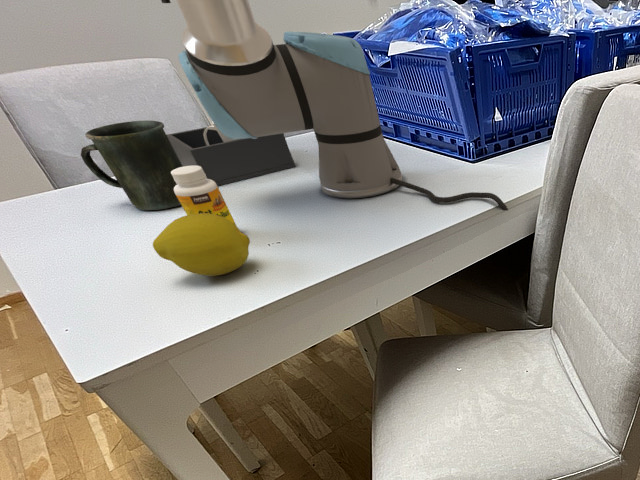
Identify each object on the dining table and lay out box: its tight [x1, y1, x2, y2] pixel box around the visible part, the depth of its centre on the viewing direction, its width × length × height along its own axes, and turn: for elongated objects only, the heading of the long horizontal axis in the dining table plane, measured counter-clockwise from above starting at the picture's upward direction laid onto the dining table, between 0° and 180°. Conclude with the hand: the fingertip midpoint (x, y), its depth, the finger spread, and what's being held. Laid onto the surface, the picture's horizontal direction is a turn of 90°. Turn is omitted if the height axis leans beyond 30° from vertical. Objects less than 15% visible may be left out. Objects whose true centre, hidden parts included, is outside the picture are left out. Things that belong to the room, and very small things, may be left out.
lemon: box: [152, 213, 251, 277], centre depth 60 cm, size 11×8×8 cm
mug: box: [80, 120, 183, 211], centre depth 79 cm, size 11×15×12 cm
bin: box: [166, 126, 296, 187], centre depth 94 cm, size 17×18×7 cm
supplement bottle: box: [171, 165, 237, 226], centre depth 67 cm, size 6×6×10 cm
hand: (206, 1), depth 84 cm, fingers open, 13 cm apart
